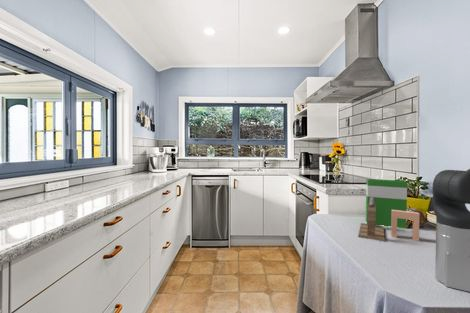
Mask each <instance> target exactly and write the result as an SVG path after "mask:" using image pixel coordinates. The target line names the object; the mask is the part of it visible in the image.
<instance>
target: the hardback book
mask: <svg viewBox="0 0 470 313" xmlns="http://www.w3.org/2000/svg"><path fill="white" fill-rule="evenodd" d="M365 183H366V186H365V189H366V190H365V191H366V192H365V193H366V194H365V222H367V223H366V224H368V204H369V198H370V197H374V198H375V199H376V216H375V225H378V226H380V225H384V226H383V227H388V226H391V218H392V210H400V211H407V208H408V205H407V204H408V203H407V202H408V181H404V180H396V179H395V180H394V179H393V180H392V179H379V178H377V179H376V178H373V179H372V178H366V182H365ZM397 227H398V228H399V229H407V219H401V218H397ZM398 228H397V229H398Z"/></svg>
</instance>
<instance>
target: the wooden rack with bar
mask: <svg viewBox="0 0 470 313" xmlns="http://www.w3.org/2000/svg"><path fill="white" fill-rule="evenodd" d="M375 216H376V199H375V198H374V197H370V198H369V204H368V224H367V223H364V222H360V225H359V230H358V236H357V237H358V238H361V239H369V240H374V241H379V242H385V231H384V226H380V225H375Z"/></svg>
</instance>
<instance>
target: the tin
mask: <svg viewBox="0 0 470 313" xmlns="http://www.w3.org/2000/svg"><path fill="white" fill-rule="evenodd" d="M407 209H409V212H418V213H419V214H420V215H419V227H423V228H424V226H425V225H426V216H425V214H424V213H423V211H421V210H420V209H418V208H414V207H407ZM411 225H413V222H412V223H411Z"/></svg>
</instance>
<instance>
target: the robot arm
mask: <svg viewBox="0 0 470 313" xmlns="http://www.w3.org/2000/svg"><path fill="white" fill-rule="evenodd" d="M434 176H435V177H433V178H434V179H433V181H432V207H433V208H432V209H433V212H434V215H435V216H436V220H435V221H436V224H435V226H436V227H435V255H434V257H435V261H434V262H435V266H434V269H435V270H434V277H435V279H436V280H437V282H438V281H439V283H442V284H443V285H444V287H447V288H452V289H456V290H460V291H464V292H469V293H470V210H469V209H468V207H467V206H466V205H470V168H469V169H467V170H458V169H457V170H455V169H445V170H441V171H439V172H438V173H437V174H436V175H434Z"/></svg>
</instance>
